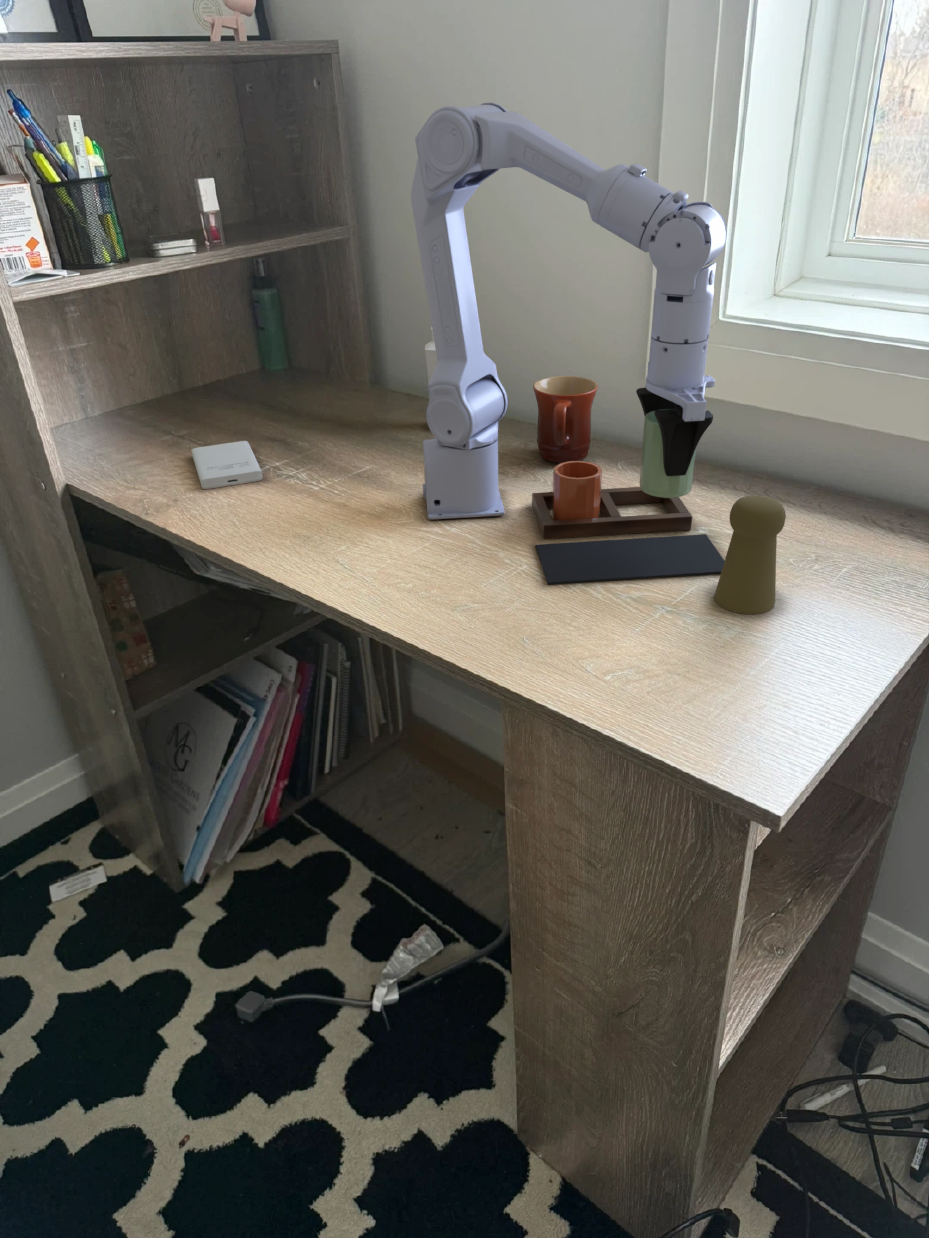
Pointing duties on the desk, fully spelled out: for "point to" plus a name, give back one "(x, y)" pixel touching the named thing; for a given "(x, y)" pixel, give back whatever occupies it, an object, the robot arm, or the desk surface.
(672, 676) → the desk surface
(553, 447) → the mug
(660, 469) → the cup
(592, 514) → the terracotta cup
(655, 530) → the holder
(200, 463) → the hard drive
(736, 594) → the olive pepper mill
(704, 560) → the desk mat
